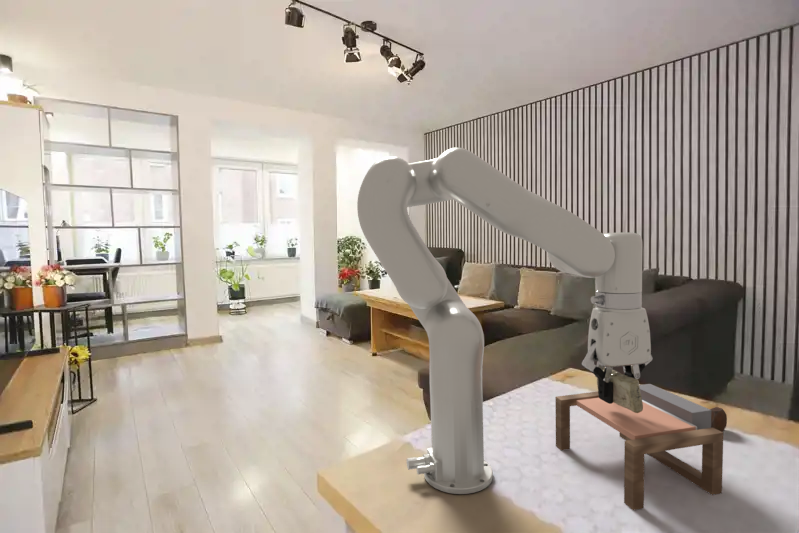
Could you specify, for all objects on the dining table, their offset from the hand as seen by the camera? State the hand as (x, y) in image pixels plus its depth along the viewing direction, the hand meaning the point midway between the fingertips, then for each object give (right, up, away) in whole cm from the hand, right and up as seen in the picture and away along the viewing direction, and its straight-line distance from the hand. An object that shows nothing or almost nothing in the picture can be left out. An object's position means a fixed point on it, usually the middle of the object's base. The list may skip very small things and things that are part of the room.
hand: (617, 398), depth 81 cm
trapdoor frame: (+3, -13, +2) cm, 14 cm away
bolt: (+26, -12, +21) cm, 35 cm away
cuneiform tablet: (0, -1, +1) cm, 1 cm away
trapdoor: (+5, -6, +1) cm, 8 cm away
